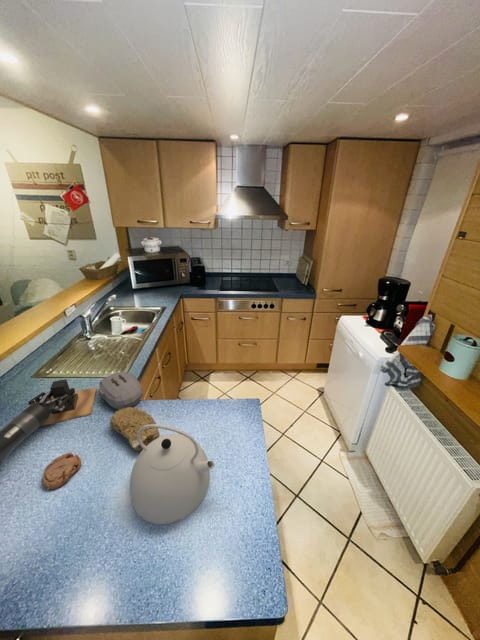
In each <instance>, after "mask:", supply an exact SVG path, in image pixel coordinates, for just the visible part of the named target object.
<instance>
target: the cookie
mask: <svg viewBox="0 0 480 640" xmlns="http://www.w3.org/2000/svg"><path fill="white" fill-rule="evenodd" d="M81 467H82V459H81V457H80V456H79V455H78V454H75V455H74V453H73V452H66V453H64V454H63V455H60V456H58V457H56V458H54V459H53V460H52V461H51V462H49V464H47V465H46V466H45V468H44V473H43V476H42V484H43V486H44V488H45V489H46V490H55V489H58V488H61V487H62V486H63V485H64V484H65V483H68V482H69V481H70V479H71V478H72V477H73V475H74V474H75V473H76V472H77V471H79V469H81Z"/></svg>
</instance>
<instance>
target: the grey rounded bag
mask: <svg viewBox="0 0 480 640" xmlns="http://www.w3.org/2000/svg"><path fill="white" fill-rule="evenodd" d="M98 384H99V389H98V391H99V392H98V393H99V395H100V397H101V398H102V400H105V402H106V403H107V404H108V405H109V406H110V407H112V408H113V409H116V411H118V410H120V409H123V408H127V407H132V408H133V407H134V406H136V405H137V404H139V402H141V400H142V397H143V396H144V390H143V388H142V385H141V383H140V381H139V379H138V378H137V376H136V375H135V374H133V373H130V372H126V371H123V370H122V371H118V372H114V373H112V374H110V375H108V376H106V377H104V378H103V379H101V380H100V381H99V383H98Z"/></svg>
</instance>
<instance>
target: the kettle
mask: <svg viewBox="0 0 480 640" xmlns="http://www.w3.org/2000/svg"><path fill="white" fill-rule="evenodd" d="M146 428H158V429H162V430H166V431H171V432H174V433H167V434H164V435H160V436H159V438H157V439H155V440H153V441H152V442H151V443H149V444H148V445H147V446H145V445H144V444H143V443H142V441H141V439H140V433H141V431H142V430H144V429H146ZM137 440H138V442H139V444H140V446H141V447H142V448H143V449H141V452H140V453H139V454H138V456H137V458H136V459H135V462H134V464H133V466H132V468H131V469H132V470H131V473H130V478H129V491H130V497H131V502H132V506H133V508H134V511H135V512H136V514H137V515H138V516H139V517H140V518H141V519H143V520H144V521H146V522H148V523H151V524H154V525H170V524H174V523H176V522H179V521H182V520H183V519H185V518H186V517H188V516H189V515H191V514H192V513H193V512H194V511H195V510H197V508H198V507H199V506H200V505H201V503H202V502H203V500H204V499H205V497H206V495H207V492H208V491H209V490H208V489H209V487H210V481H211V473H210V470H213V469H215V466H216V465H215V463H214V461H212V460H208V458H207V454H206V452H205V450H204V449H203V447H202V446H201V444H199V442H197V441H196V439H195V438H193V436H191V435H190V434H188V433H187V432H185V431H183V430H181V429H178V428H175V427H172V426H168V425H163V424H157V423H156V424H149V425H145V426H143V427H141V428H140V429H139V430H138V433H137Z"/></svg>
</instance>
